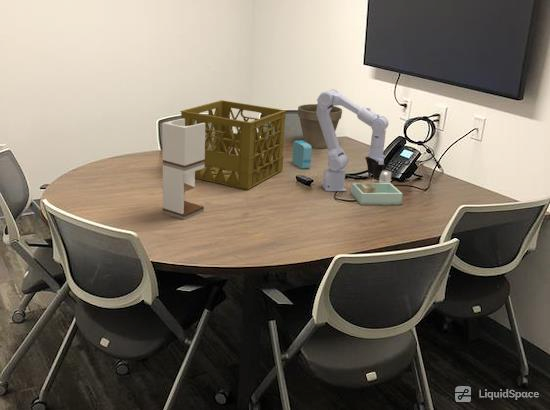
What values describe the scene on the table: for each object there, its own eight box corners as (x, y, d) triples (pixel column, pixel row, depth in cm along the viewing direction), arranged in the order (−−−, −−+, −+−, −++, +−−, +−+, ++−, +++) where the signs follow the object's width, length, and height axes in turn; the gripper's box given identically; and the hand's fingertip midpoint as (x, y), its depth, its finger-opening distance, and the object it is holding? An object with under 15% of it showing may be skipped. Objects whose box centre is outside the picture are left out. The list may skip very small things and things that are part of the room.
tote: (360, 205, 241) (362, 193, 239) (350, 193, 254) (351, 183, 252) (401, 204, 244) (402, 193, 243) (389, 193, 257) (390, 183, 255)
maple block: (363, 199, 245) (365, 188, 243) (359, 195, 250) (361, 184, 248) (374, 199, 246) (376, 188, 244) (370, 195, 251) (372, 184, 249)
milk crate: (179, 175, 263) (180, 111, 252) (219, 158, 293) (221, 100, 283) (247, 191, 249) (251, 123, 239) (282, 171, 279) (286, 110, 269)
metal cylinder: (380, 188, 264) (382, 173, 261) (377, 184, 268) (379, 170, 266) (391, 188, 265) (393, 173, 262) (387, 184, 269) (389, 170, 267)
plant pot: (292, 148, 321) (295, 109, 314) (298, 138, 344) (300, 102, 336) (336, 152, 318) (340, 114, 310) (339, 142, 341) (343, 106, 333)
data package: (310, 169, 285) (312, 145, 281) (302, 169, 284) (303, 146, 280) (299, 162, 296) (301, 139, 291) (291, 162, 294) (293, 140, 290)
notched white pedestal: (184, 219, 214) (185, 128, 202) (163, 213, 219) (162, 122, 207) (203, 211, 223) (205, 123, 211) (182, 205, 228) (183, 118, 216)
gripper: (392, 150, 238) (387, 181, 243) (380, 141, 252) (376, 170, 256) (376, 150, 237) (372, 181, 242) (365, 141, 250) (361, 170, 255)
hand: (373, 175), depth 249 cm, fingers open, 7 cm apart
